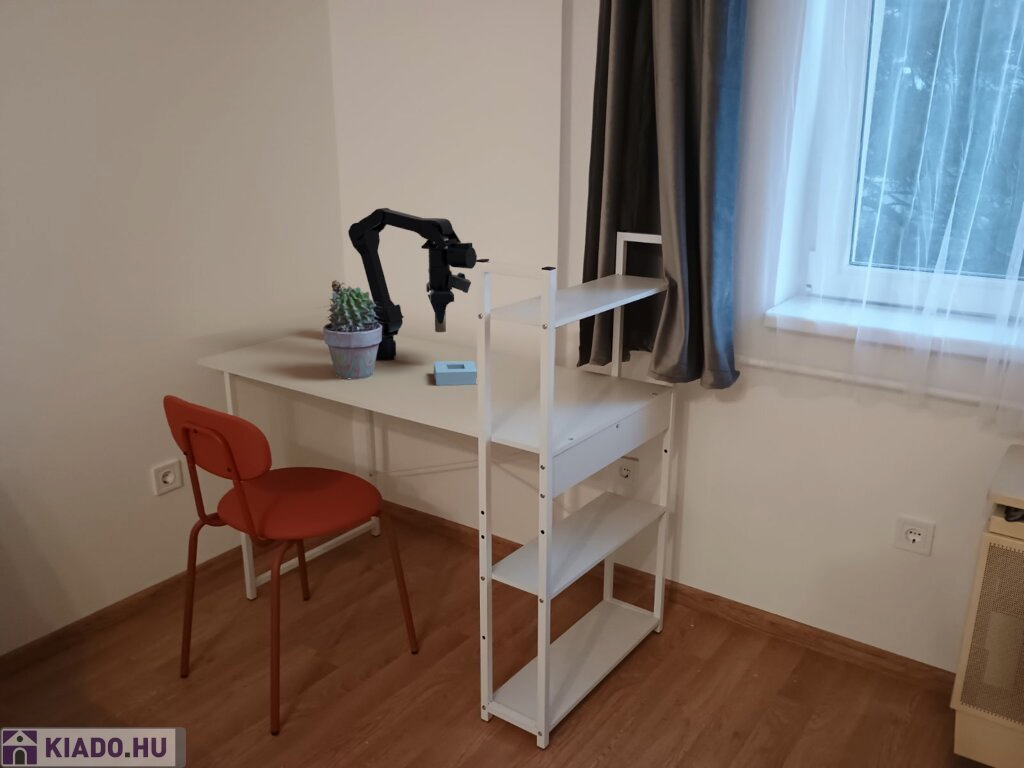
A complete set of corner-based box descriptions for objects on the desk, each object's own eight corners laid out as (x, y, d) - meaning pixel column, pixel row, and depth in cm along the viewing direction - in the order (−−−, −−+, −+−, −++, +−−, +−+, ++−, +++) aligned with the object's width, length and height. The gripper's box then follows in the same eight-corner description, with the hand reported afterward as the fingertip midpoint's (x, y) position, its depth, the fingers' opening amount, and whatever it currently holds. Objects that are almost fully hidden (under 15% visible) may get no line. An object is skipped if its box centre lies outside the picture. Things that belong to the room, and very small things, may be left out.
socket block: (436, 385, 231) (436, 372, 230) (433, 374, 241) (433, 361, 240) (478, 384, 232) (478, 371, 232) (474, 373, 243) (474, 360, 242)
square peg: (435, 332, 245) (434, 300, 242) (434, 330, 247) (434, 298, 245) (446, 332, 245) (445, 300, 243) (445, 329, 248) (444, 298, 245)
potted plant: (379, 386, 229) (376, 290, 222) (309, 380, 233) (304, 286, 227) (403, 369, 246) (401, 279, 239) (337, 363, 250) (334, 275, 243)
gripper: (472, 270, 234) (473, 328, 238) (465, 260, 251) (465, 314, 256) (430, 271, 232) (431, 329, 236) (425, 261, 250) (426, 315, 254)
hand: (440, 322), depth 246 cm, fingers closed on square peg, 3 cm apart
